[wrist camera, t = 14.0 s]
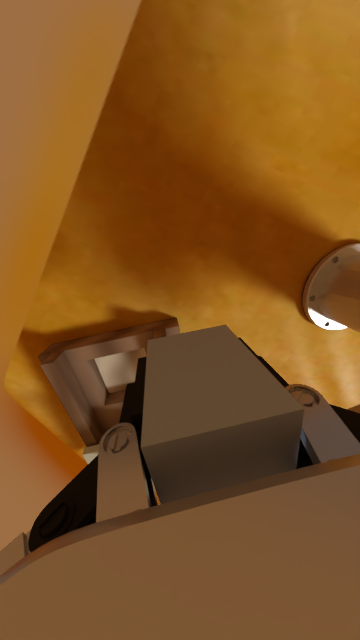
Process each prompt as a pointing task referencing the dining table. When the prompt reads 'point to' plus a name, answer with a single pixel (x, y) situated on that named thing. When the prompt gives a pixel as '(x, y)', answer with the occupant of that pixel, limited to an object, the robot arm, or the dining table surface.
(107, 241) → the dining table surface
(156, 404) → the block
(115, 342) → the brown wooden tray
